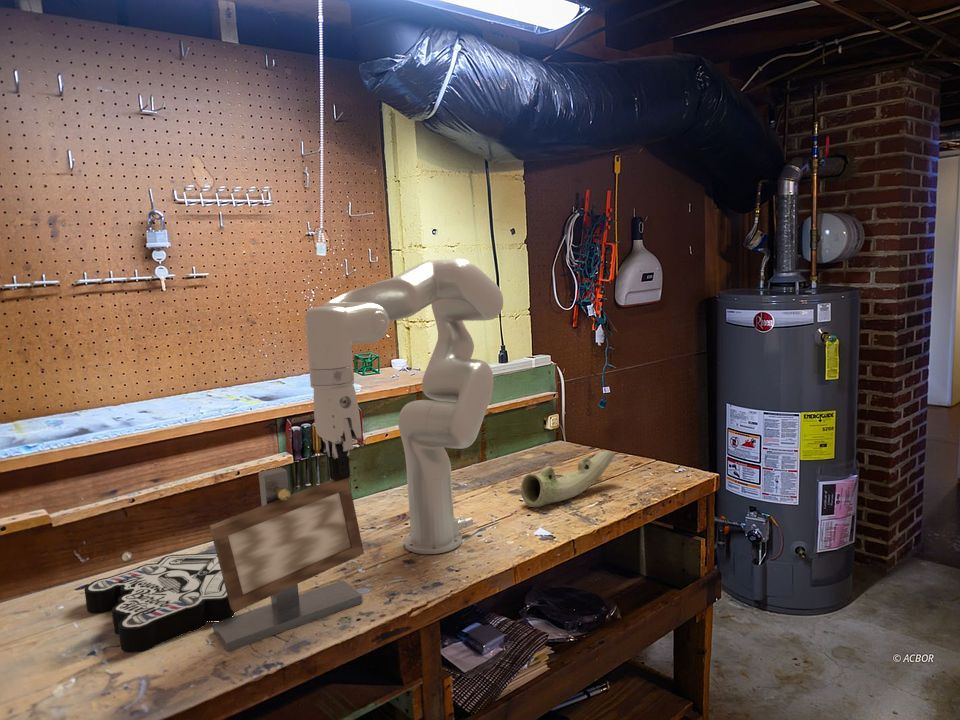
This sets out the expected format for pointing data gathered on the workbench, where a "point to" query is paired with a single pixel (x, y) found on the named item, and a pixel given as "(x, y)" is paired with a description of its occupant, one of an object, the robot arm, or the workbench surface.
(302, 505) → the picture frame
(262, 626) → the tabletop sign stand
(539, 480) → the pipe
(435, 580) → the workbench surface
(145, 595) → the decorative sign
